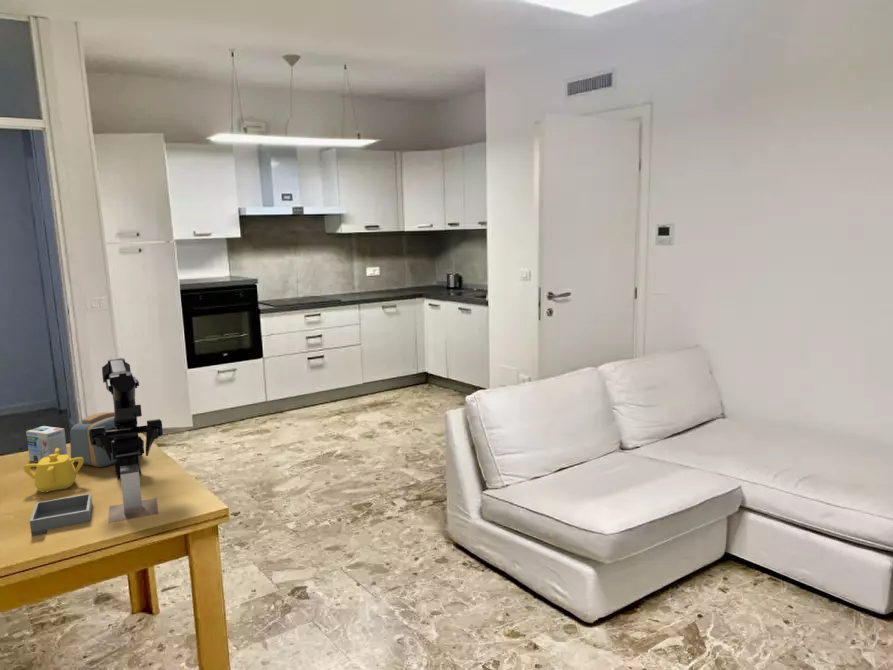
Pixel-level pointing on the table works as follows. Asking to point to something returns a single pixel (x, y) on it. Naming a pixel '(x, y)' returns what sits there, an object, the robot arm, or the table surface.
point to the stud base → (147, 509)
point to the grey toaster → (83, 444)
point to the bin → (60, 513)
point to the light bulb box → (45, 442)
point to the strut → (131, 489)
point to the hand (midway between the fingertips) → (128, 458)
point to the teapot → (54, 471)
